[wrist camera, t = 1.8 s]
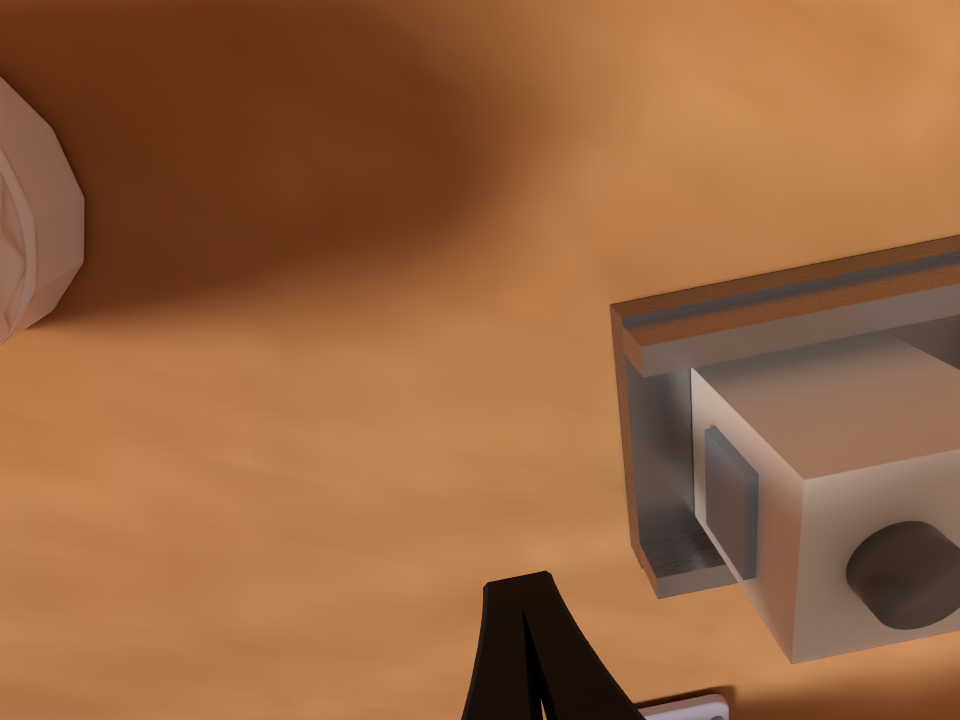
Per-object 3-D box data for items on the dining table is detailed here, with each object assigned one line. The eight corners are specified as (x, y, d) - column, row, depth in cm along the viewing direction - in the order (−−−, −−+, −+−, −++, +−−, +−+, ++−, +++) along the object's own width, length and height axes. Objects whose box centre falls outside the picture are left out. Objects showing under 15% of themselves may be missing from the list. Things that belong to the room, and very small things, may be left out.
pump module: (859, 482, 17) (1049, 650, 12) (684, 517, 17) (799, 700, 12) (878, 328, 15) (1117, 450, 10) (679, 368, 15) (815, 512, 10)
